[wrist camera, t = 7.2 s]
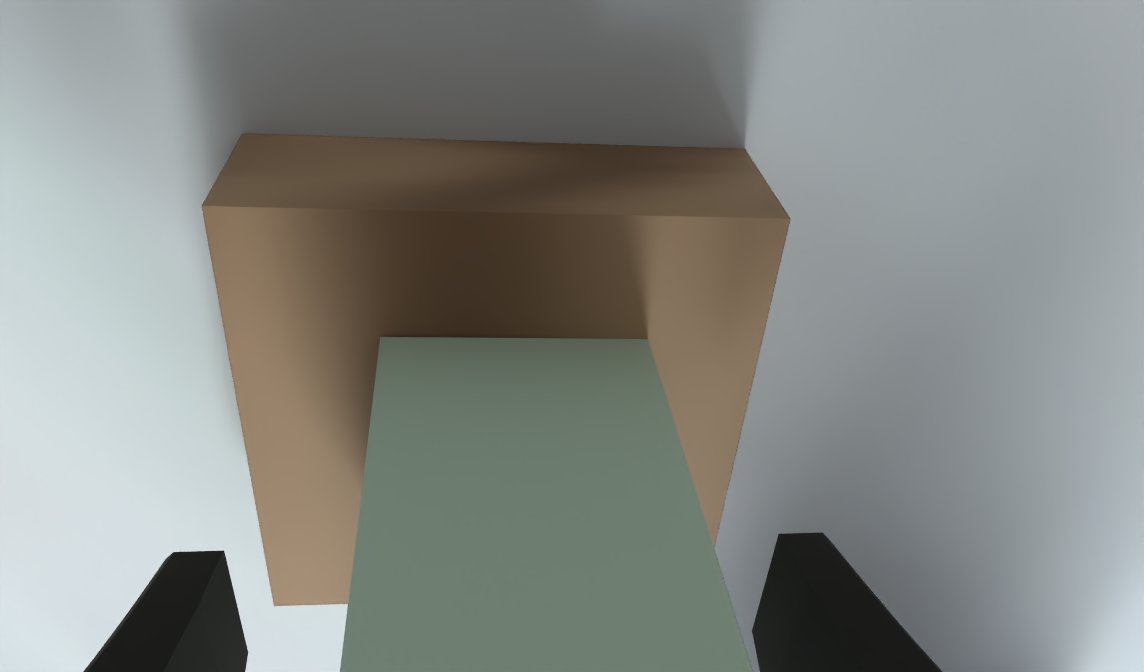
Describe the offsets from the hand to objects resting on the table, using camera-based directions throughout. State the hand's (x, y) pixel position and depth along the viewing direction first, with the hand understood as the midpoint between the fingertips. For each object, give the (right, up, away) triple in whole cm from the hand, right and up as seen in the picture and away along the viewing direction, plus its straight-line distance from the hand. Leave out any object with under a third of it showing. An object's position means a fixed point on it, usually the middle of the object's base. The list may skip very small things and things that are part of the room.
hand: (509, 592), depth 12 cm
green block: (0, +2, +3) cm, 3 cm away
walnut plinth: (-1, +3, +5) cm, 6 cm away
